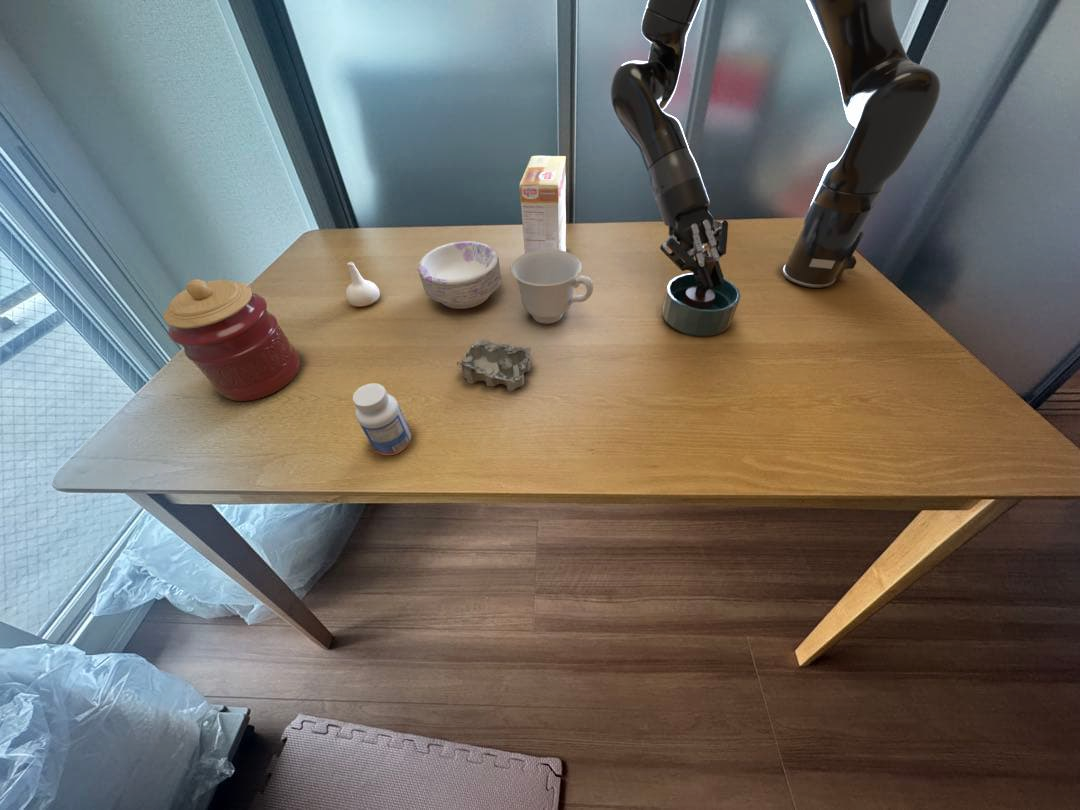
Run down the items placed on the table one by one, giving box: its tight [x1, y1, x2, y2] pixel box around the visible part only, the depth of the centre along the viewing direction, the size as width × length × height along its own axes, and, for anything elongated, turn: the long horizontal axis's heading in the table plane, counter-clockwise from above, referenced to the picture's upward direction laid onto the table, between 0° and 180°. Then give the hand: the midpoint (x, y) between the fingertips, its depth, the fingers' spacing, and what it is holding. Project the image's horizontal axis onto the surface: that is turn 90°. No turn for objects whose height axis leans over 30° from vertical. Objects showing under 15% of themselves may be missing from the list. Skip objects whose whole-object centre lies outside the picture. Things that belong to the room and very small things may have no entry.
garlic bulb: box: [345, 261, 381, 307], centre depth 81 cm, size 6×6×8 cm
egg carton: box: [456, 339, 532, 391], centre depth 66 cm, size 11×8×4 cm
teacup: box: [510, 249, 594, 325], centre depth 74 cm, size 12×15×10 cm
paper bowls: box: [417, 240, 502, 310], centre depth 81 cm, size 15×15×8 cm
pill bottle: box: [352, 382, 412, 456], centre depth 55 cm, size 6×5×10 cm
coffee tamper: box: [683, 257, 716, 310], centre depth 72 cm, size 5×5×8 cm
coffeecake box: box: [518, 155, 567, 254], centre depth 83 cm, size 15×7×20 cm, turn 172°
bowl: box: [661, 272, 742, 337], centre depth 73 cm, size 12×12×6 cm
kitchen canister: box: [163, 279, 301, 402], centre depth 63 cm, size 13×13×18 cm
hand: (713, 287), depth 70 cm, fingers closed on coffee tamper
